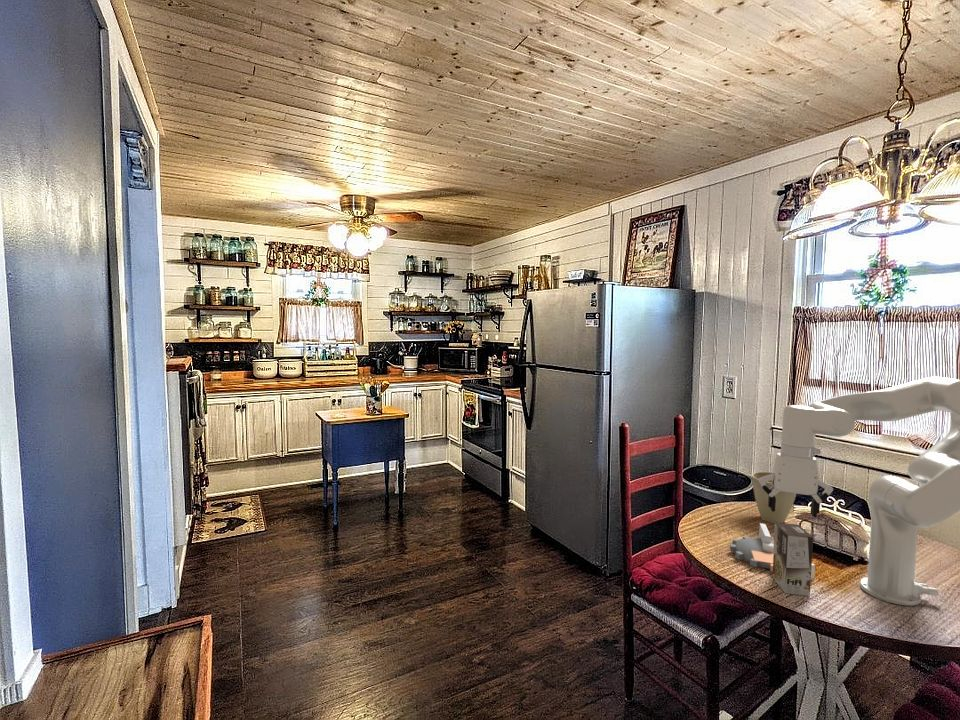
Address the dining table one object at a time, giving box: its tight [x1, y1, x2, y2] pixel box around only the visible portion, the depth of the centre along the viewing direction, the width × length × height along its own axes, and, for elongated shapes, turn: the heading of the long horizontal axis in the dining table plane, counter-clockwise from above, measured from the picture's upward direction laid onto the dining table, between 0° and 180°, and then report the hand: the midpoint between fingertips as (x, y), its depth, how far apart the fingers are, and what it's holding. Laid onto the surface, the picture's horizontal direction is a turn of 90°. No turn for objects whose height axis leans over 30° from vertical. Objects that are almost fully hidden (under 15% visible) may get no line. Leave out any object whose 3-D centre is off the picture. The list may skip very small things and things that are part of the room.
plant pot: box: [751, 471, 797, 524], centre depth 180 cm, size 15×15×16 cm
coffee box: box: [772, 523, 814, 597], centre depth 134 cm, size 9×6×16 cm
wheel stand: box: [811, 562, 816, 580], centre depth 147 cm, size 15×15×4 cm
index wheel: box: [729, 522, 774, 572], centre depth 151 cm, size 21×22×6 cm
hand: (792, 512), depth 133 cm, fingers open, 9 cm apart
